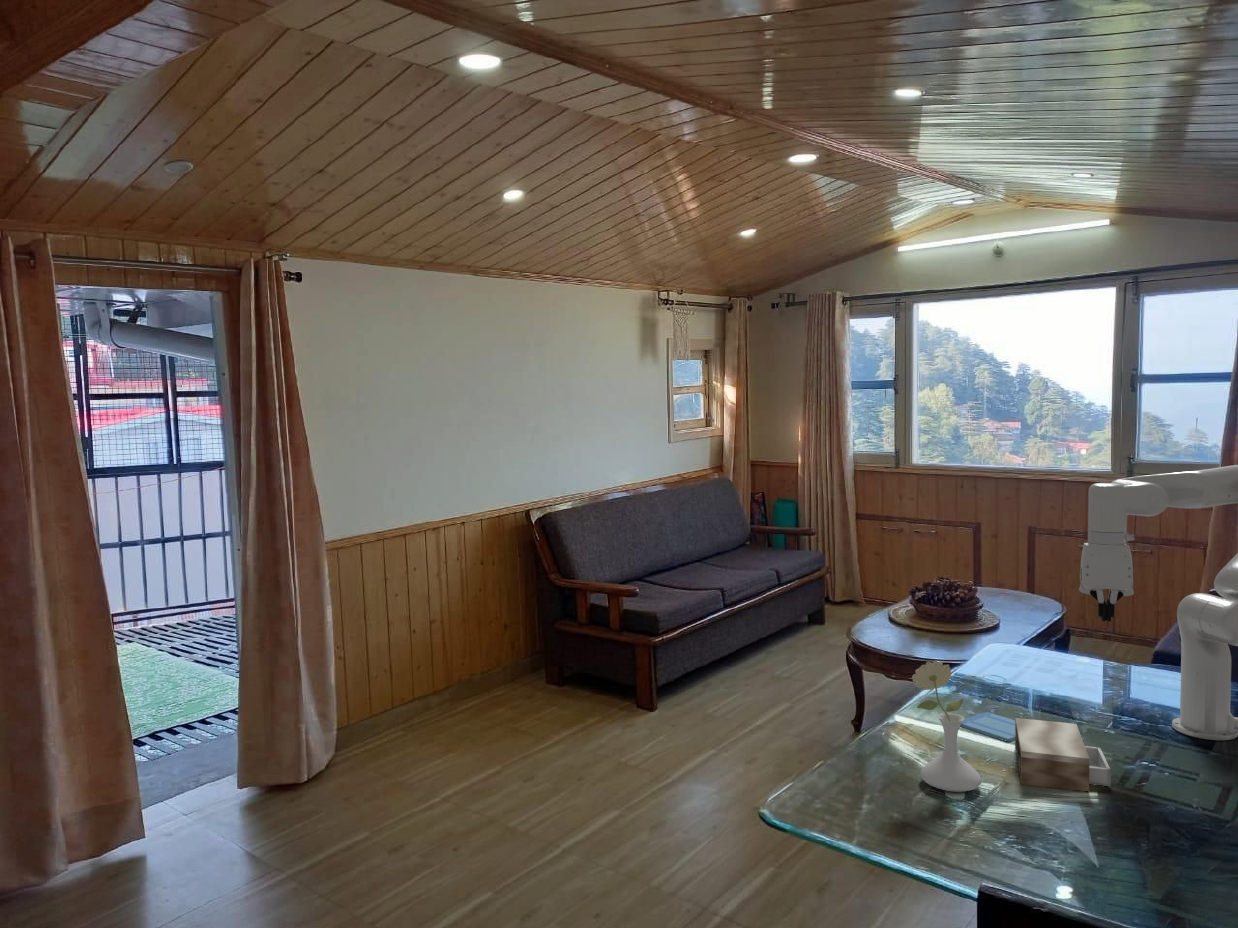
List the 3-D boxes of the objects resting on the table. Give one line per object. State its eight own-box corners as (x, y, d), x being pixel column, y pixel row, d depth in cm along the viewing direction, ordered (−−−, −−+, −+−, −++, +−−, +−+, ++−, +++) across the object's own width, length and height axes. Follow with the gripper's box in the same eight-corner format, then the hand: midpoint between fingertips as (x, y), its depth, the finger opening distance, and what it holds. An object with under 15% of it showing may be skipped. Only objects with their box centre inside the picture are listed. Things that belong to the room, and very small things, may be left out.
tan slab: (1076, 754, 190) (1076, 723, 189) (1089, 792, 171) (1089, 758, 171) (1015, 747, 194) (1015, 717, 194) (1021, 783, 175) (1021, 750, 175)
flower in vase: (979, 777, 179) (980, 656, 178) (983, 800, 168) (984, 672, 167) (912, 769, 183) (912, 651, 182) (911, 792, 173) (911, 666, 171)
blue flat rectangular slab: (1039, 732, 204) (1039, 727, 204) (1008, 743, 197) (1008, 738, 197) (986, 716, 215) (986, 711, 215) (956, 726, 209) (956, 721, 209)
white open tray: (1099, 763, 185) (1100, 747, 184) (1110, 787, 173) (1110, 769, 173) (1026, 756, 189) (1026, 740, 189) (1032, 778, 178) (1032, 761, 178)
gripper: (1142, 537, 197) (1140, 618, 198) (1067, 535, 202) (1066, 614, 203) (1149, 542, 190) (1147, 626, 191) (1071, 539, 195) (1070, 621, 196)
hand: (1105, 619), depth 197 cm, fingers closed
